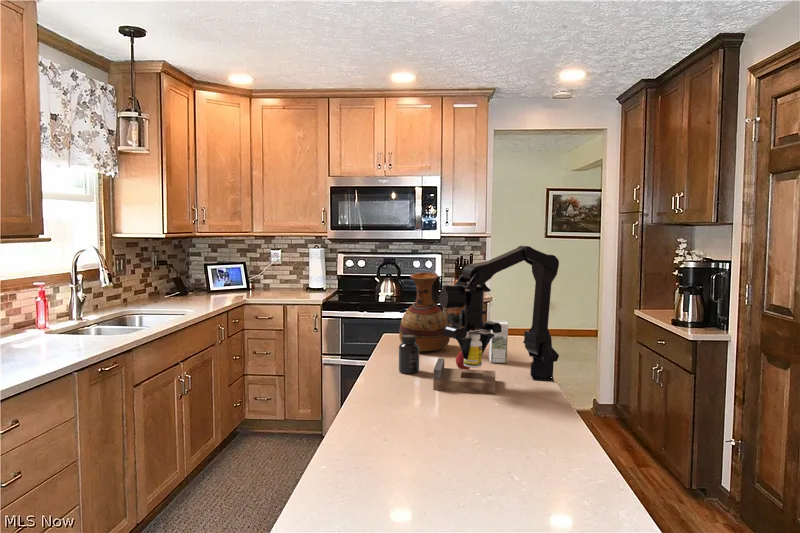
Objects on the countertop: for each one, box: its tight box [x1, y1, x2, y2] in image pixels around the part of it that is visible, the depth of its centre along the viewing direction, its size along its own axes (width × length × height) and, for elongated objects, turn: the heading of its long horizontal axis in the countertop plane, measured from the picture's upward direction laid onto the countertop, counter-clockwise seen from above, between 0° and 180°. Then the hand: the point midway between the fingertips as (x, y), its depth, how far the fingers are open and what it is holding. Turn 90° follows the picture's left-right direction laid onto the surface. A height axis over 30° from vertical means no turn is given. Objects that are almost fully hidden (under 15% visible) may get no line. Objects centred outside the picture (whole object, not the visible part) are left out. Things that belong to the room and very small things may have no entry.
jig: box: [432, 357, 496, 395], centre depth 170 cm, size 18×14×6 cm
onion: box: [455, 351, 471, 369], centre depth 184 cm, size 6×6×8 cm
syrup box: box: [488, 320, 509, 364], centre depth 198 cm, size 6×6×14 cm
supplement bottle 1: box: [398, 335, 420, 375], centre depth 183 cm, size 7×7×12 cm
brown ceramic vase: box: [398, 271, 451, 352], centre depth 216 cm, size 20×20×30 cm
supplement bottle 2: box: [464, 333, 483, 369], centre depth 169 cm, size 5×5×10 cm
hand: (472, 357), depth 169 cm, fingers closed on supplement bottle 2, 5 cm apart
